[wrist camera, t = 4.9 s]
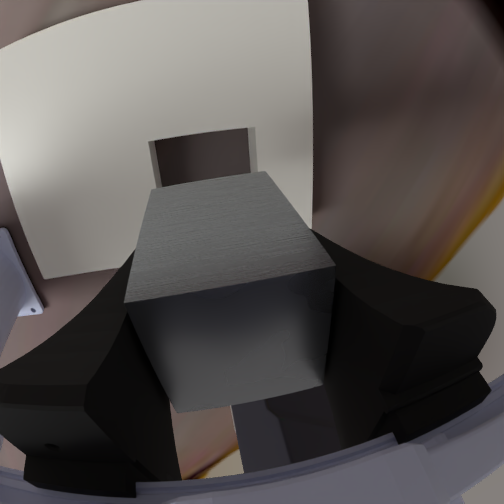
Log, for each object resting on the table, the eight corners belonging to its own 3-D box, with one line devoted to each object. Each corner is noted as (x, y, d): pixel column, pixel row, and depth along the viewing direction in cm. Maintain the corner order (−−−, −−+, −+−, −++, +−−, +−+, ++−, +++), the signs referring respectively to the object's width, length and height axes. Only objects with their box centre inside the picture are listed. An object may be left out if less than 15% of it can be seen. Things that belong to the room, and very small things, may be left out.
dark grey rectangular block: (209, 321, 26) (238, 501, 13) (243, 287, 25) (296, 477, 12) (297, 360, 31) (346, 494, 19) (328, 334, 30) (391, 471, 17)
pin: (174, 282, 13) (177, 413, 8) (151, 189, 10) (123, 303, 5) (271, 265, 13) (322, 384, 8) (265, 170, 11) (336, 265, 6)
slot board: (54, 259, 20) (44, 279, 18) (4, 57, 12) (-17, 58, 10) (299, 220, 22) (311, 237, 20) (292, -1, 14) (306, -9, 12)
